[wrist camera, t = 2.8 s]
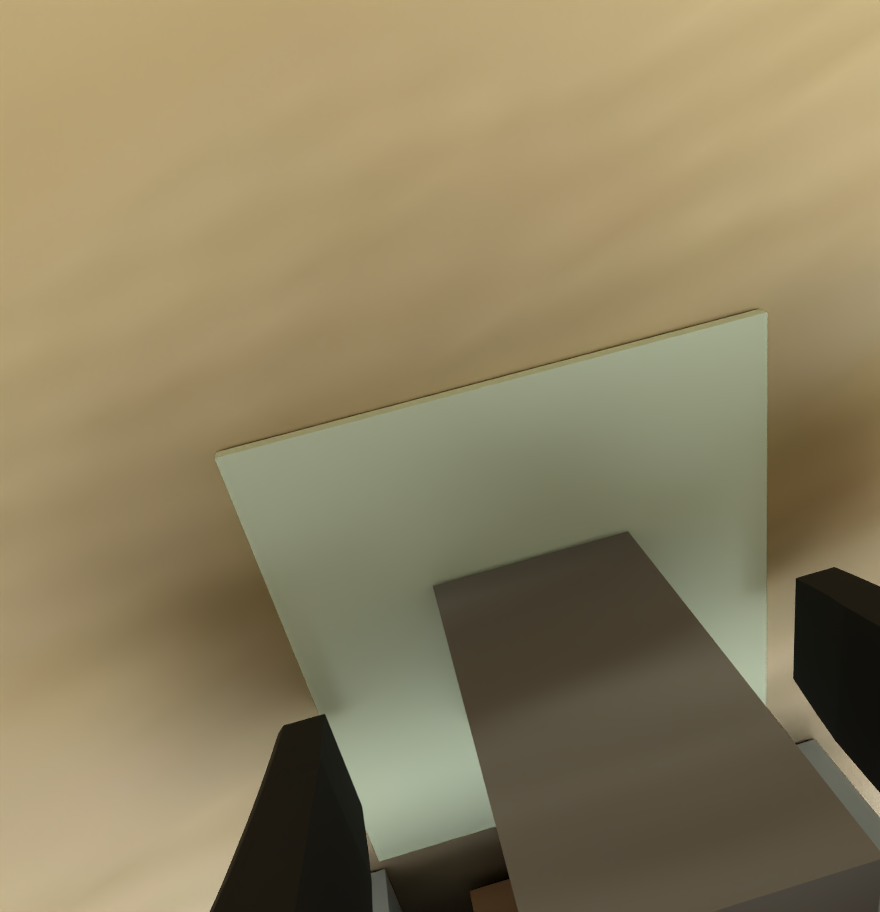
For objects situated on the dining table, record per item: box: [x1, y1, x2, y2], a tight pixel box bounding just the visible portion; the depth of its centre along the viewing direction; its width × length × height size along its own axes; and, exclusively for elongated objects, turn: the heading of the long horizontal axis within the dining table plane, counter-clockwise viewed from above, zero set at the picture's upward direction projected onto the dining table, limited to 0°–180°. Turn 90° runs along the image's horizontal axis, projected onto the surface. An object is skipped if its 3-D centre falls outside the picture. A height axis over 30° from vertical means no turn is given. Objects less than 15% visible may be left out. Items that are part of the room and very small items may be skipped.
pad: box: [214, 309, 767, 862], centre depth 12 cm, size 9×8×1 cm
